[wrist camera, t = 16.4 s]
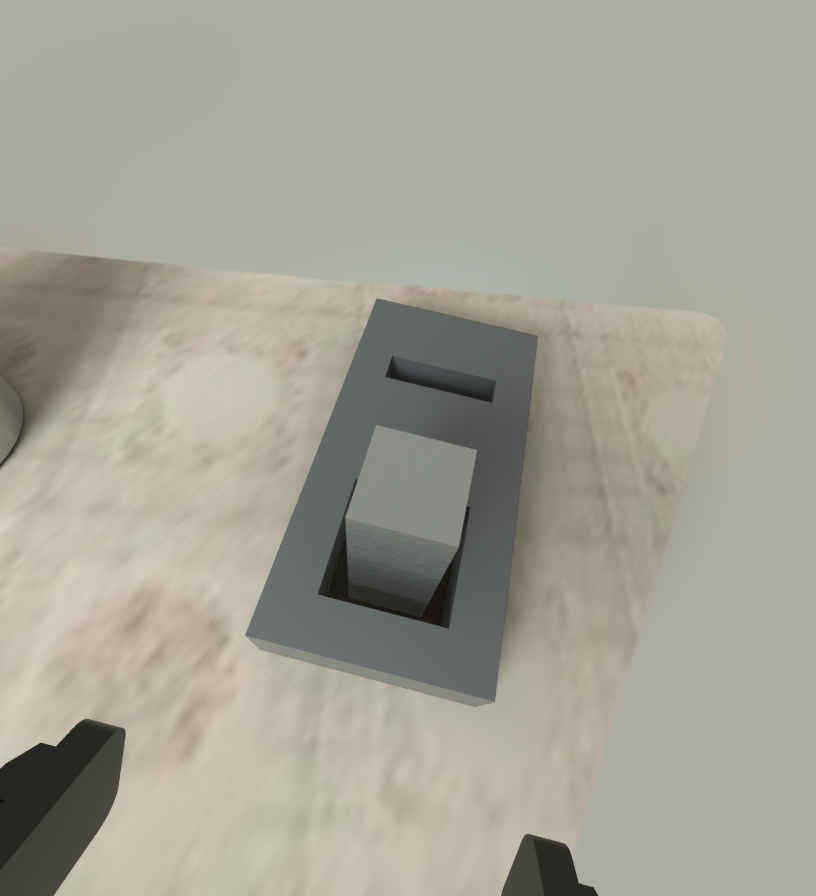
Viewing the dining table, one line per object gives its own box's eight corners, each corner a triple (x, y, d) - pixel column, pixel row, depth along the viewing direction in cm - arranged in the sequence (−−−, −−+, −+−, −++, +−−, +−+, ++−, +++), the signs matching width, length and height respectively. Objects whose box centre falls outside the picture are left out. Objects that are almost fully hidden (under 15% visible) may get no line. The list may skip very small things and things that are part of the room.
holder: (475, 706, 21) (494, 701, 18) (260, 649, 22) (245, 635, 19) (520, 373, 32) (537, 336, 29) (374, 339, 32) (376, 298, 29)
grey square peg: (420, 617, 23) (458, 547, 15) (349, 598, 23) (345, 517, 15) (435, 547, 25) (476, 450, 17) (369, 530, 25) (376, 424, 17)
